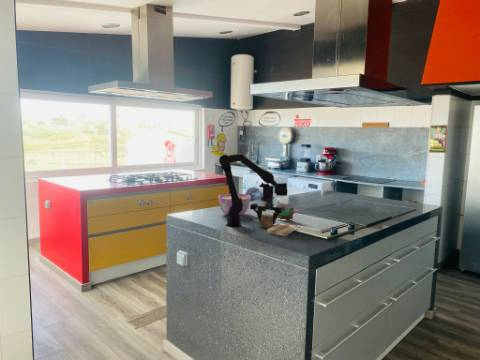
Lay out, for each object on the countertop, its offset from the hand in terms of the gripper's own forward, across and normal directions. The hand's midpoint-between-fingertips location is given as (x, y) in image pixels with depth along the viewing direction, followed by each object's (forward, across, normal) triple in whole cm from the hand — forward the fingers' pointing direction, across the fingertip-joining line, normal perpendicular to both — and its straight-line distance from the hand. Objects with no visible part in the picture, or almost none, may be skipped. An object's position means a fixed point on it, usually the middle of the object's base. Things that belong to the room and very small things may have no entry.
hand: (267, 223), depth 203 cm
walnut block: (+2, 0, 0) cm, 2 cm away
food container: (+2, +2, +17) cm, 17 cm away
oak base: (+2, +11, -5) cm, 12 cm away
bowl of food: (+2, -28, +12) cm, 31 cm away
